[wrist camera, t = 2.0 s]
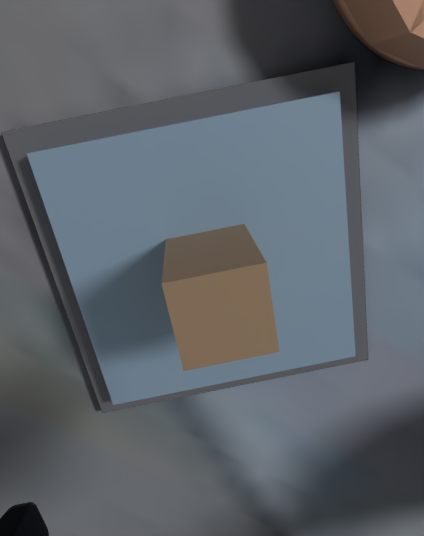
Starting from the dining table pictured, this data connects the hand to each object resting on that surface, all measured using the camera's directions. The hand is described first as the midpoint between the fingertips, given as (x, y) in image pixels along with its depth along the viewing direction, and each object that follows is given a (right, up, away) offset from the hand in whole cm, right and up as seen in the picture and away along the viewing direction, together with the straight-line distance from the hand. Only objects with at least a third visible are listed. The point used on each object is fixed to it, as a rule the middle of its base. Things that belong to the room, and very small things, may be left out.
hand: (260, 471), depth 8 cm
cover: (-1, +4, +12) cm, 12 cm away
